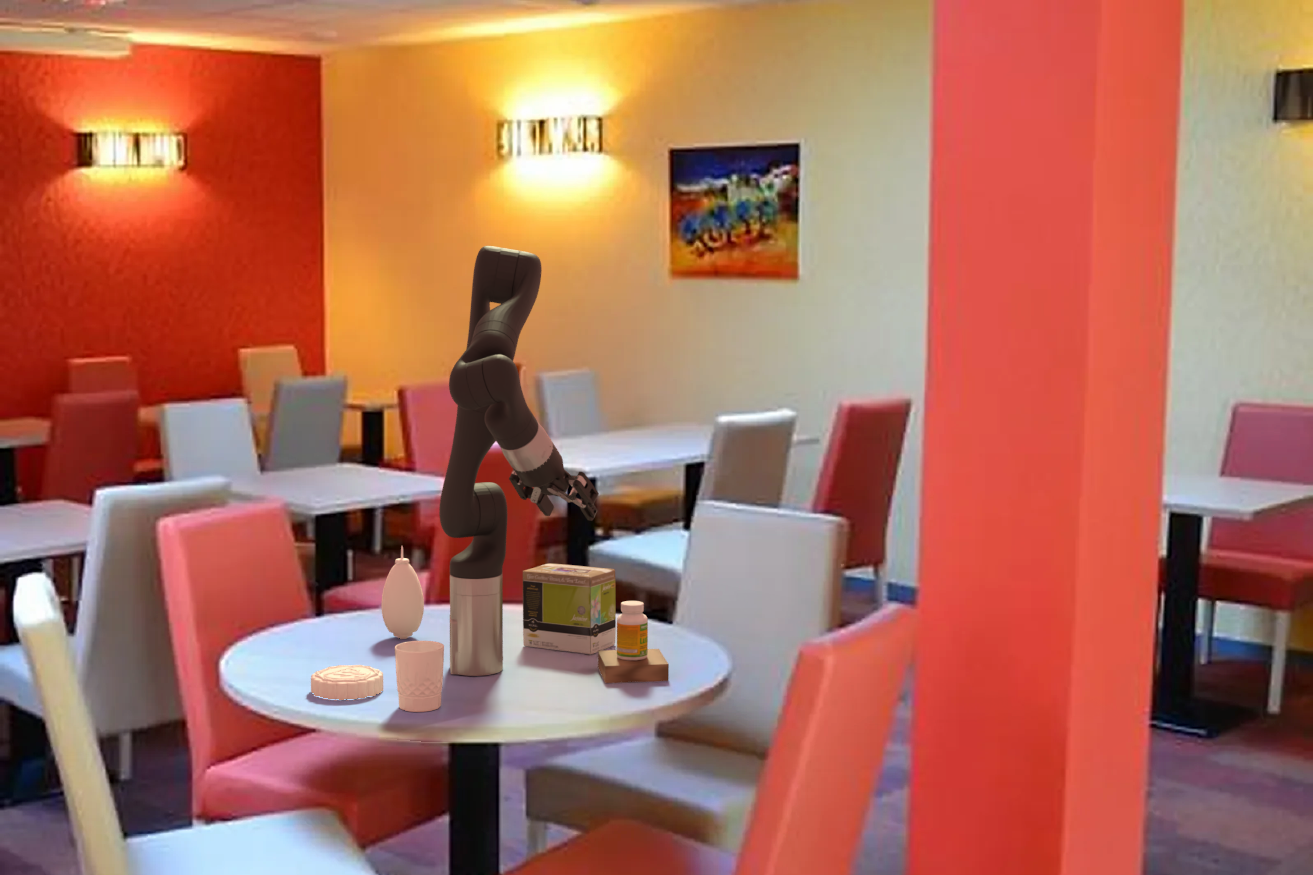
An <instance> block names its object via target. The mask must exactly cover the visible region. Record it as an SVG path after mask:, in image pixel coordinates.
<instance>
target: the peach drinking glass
mask: <svg viewBox="0 0 1313 875" xmlns="http://www.w3.org/2000/svg"><path fill="white" fill-rule="evenodd" d="M444 655H445V645H444V644H443V643H442V642H438V641H433V640H432V641H431V640H412V641H411V640H410V641H404V642H401V643H398V644H396V645H395V646H394V656H395V657H394V658H395V674H396V688H397V689H396V690H397V693H398V695H397V696H398V707H399V709H400V710H402V711H404V710H405V711H406V712H409V713H410V712H411V713H413V712H414V713H423V712H424V713H425V712H431V711H435V710H438V709H439V708H441V707H442V689H443V681H444V679H443V678H444V662H445V661H444V658H445V656H444Z"/></svg>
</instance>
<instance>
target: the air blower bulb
mask: <svg viewBox="0 0 1313 875" xmlns="http://www.w3.org/2000/svg"><path fill="white" fill-rule="evenodd" d="M400 548H401V549H400V558H396V559H395V561H394V565H393V566H392V567H391V568H390V570H389V573H388V574H387V577H386V579H385V582H384V584H383V585H384V586H383V589H382V595H381V603H380V605H381V614H382V620H383V622H384V625H385V627H386V629H387V630H388V632H389V633H391V634H393V636H394V637H395V638H397V639H399V638H400V639H399V640H406V639H409V637H412V636H413V633H415V632H417V631H418V629H419V628H420V626H421V623H422V620H423V616H424V612H425V602H424V600H425V598H424V593H423V589H422V588H423V587H422V585H421V582H420V579H419V577H418V574H417V572H416V571H415V569H414V567H413V566H412V565H411V563H410V559H409V558H405V557H404V547H403V545H401V547H400Z"/></svg>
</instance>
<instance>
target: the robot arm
mask: <svg viewBox="0 0 1313 875" xmlns="http://www.w3.org/2000/svg"><path fill="white" fill-rule="evenodd" d="M473 267H474V268H473V275H472V285H471V299H470V311H469V321H468V322H469V324H468V334H467V343H466V349H465V351H464V352H463V353H462V354H461V356H460V357H459V358H458V359H457V361H456V363H454V365H453V367H452V369H451V372H450V374H449V380H448V390H449V393H450V396H451V399H452V401H454V403H455V405H457V407H456V408H457V409H456V420H455V425H454V426H455V427H454V432H453V439H452V445H451V451H450V455H449V460H448V464H447V469H446V471H445V472H446V473H445V476H444V481H443V485H442V490H441V493H440V499H439V501H440V502H439V512H438V513H439V523H440V527H441V529H442V530H443V532H444V534H446V536H448V537H450V538H453V539H463V538H464V539H465V538H471V537H473V538H472V541H471V543H470V544H469V545H468V546H467V547H466V548H464V550H462V551H461V552H459V553H457V554H456V555H454V556H453V557H451V559H450V561H449V669H450V674H451V675H461V676H469V677H470V676H471V677H473V676H474V677H476V676H478V677H479V676H488V675H489V676H490V675H494V674H497V673H500V672H502V671H503V669H504V666H503V664H504V662H503V661H504V651H503V648H504V646H503V644H504V643H503V642H504V641H503V638H504V637H503V636H504V634H503V631H504V629H503V627H504V626H503V624H504V623H503V621H504V619H503V614H504V613H503V609H504V608H503V606H504V605H503V604H504V603H503V600H504V599H503V597H504V596H503V587H504V586H503V566H504V562H505V560H506V554H507V534H508V533H507V532H508V502H507V499H506V494H505V492H504V491H503V489H502V488H501V486H500V485H499V484H497V483H495V482H489V481H488V482H487V481H486V482H476V480H477V476H478V473H479V470H480V467H481V465H482V462H483V460H484V459H485V457H486V456H487V454H488V453H489V451H490V450H491V449H492V447H493V446H494V444H495V443H497V445H498V446H499V447H500V449H501V453H502V454H503V456H504V458H505V459H506V461H507V462H508V464H509V465H510V467H511V468H512V471H511V473H510V476H509V477H508V480H509V482H510V483H511V485H512V486H513V488H514V490H515V491H516V493H517V495H518V496H519V498H520V499H522V500H524V501H526V500H527V499H528V500H530V502H531V503H533V504H536V506H537V508H538V510H540V512H541V513H542V514H543V515H544V516H545V517H550V516H551V514H552V513H553V511H554V509H555V505H554V504H553V502H552V501H551V499H550V498H549V496H550V497H551V496H555V497H559V498H561V499H562V500H564V501H565V502H567V503H573V504H575V505H577V506H578V507H579V509H580V511H581V512H582V513H583V515H584V517H585V518H586V520H587V521H591V522H592V521H593V520H594V519H595V517H596V515H597V513H598V510H599V509H598V508H597V507H596V505H595V502H596V500H597V498H598V496H599V495H600V494H599V492H598V490H597V489H596V488H595V486H594V484H593V483H592V482H591V480H590V479H589V478H588V476H587V474H586V473H584V472H583V471H578V473H577V474H576V475H571V473H569V472H568V471H567V470H566V469H565V468H564V460H563V457H562V455H561V453H560V451H559V450H558V449H557V446H555V444H554V442H553V440H552V439H551V437H550V436H549V435H548V433H547V431H546V430H545V428H544V427H543V426H542V425H541V424H540V423H539V421H538V420H537V418H536V416H534V414H533V412H532V411H531V409H530V408H529V406H528V404H527V400H526V398H525V395H524V393H523V389H522V385H521V379H520V375H519V374H520V373H519V371H518V367H517V365H516V363H515V361H514V359H515V356H516V352H517V346H518V341H519V339H520V338H519V337H520V334H521V332H522V330H523V327H524V325H525V324H526V322H527V320H528V318H529V316H530V314H531V312H532V309H533V307H534V305H535V302H536V300H537V297H538V295H539V291H540V286H541V280H542V262H541V259H540V257H538V255H536V254H535V253H531V252H528V251H524V250H523V251H522V250H519V249H518V250H517V249H512V248H511V249H510V248H506V247H499V246H492V245H483V246H482V247H481V248H480V249H479V250H478V253H477V254H476V258H475V262H474V266H473ZM490 303H493V304H498V305H497V306H495V307H494V308H492V309H491V307H490V306H491V304H490ZM570 486H571V490H570V493H569V494H568V493H567V491H568V489H569V487H570ZM577 494H579V496H580V498H578V497H577V496H576V495H577Z"/></svg>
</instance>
